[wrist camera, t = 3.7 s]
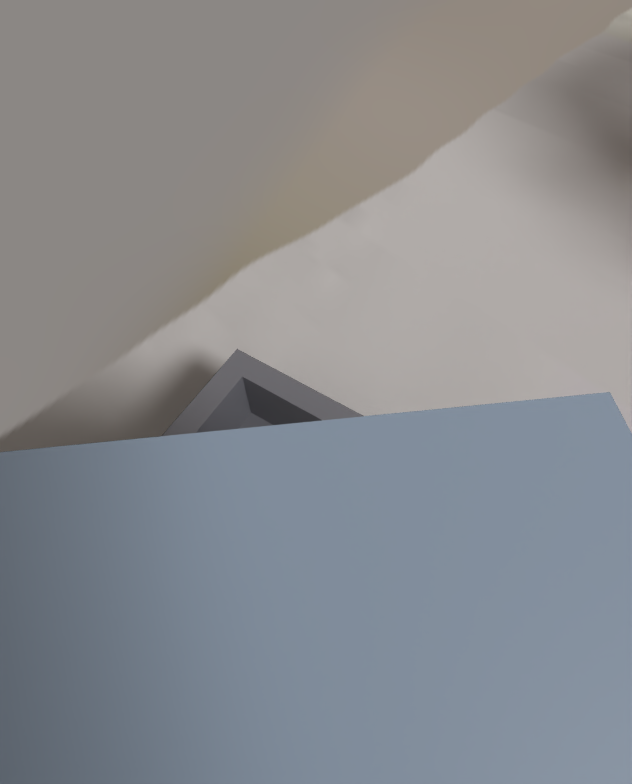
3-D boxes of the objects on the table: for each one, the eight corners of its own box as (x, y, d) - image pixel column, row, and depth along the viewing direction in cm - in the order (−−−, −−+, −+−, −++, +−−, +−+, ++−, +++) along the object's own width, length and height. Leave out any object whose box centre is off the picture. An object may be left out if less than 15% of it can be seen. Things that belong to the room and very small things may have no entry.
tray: (445, 1424, 7) (517, 1834, 5) (-94, 819, 11) (-216, 869, 9) (626, 605, 14) (699, 594, 11) (247, 393, 18) (237, 349, 15)
